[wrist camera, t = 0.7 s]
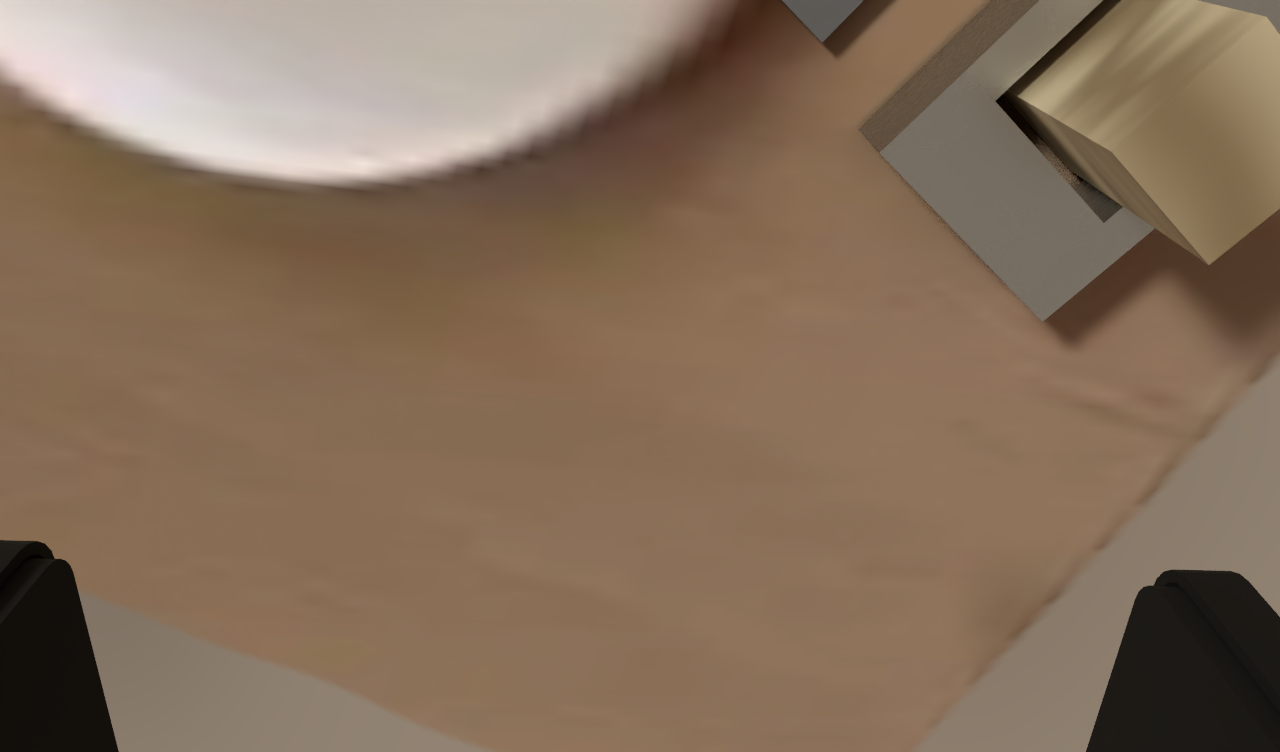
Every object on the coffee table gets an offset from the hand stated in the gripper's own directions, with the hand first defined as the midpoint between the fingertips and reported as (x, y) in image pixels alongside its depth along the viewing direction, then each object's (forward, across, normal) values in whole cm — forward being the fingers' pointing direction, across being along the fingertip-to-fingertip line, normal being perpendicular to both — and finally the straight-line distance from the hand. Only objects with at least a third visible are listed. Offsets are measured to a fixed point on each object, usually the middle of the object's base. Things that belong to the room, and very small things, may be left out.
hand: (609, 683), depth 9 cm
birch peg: (+26, -15, -1) cm, 30 cm away
